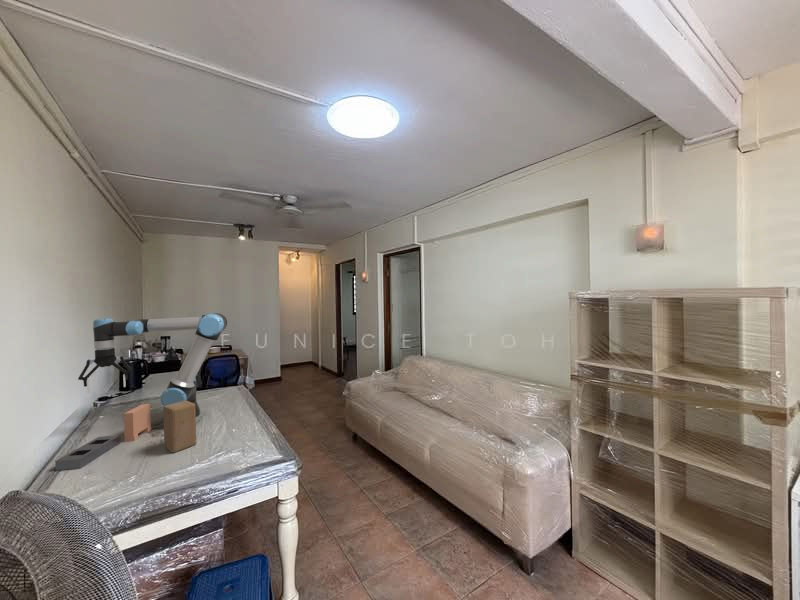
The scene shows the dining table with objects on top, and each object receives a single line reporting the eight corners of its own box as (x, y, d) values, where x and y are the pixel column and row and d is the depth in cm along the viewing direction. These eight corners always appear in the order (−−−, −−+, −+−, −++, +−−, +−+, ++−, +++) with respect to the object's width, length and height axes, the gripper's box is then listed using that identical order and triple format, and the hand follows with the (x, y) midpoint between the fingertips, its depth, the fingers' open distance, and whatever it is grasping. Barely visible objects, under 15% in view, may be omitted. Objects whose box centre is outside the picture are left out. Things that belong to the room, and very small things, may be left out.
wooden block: (173, 453, 141) (172, 409, 140) (163, 448, 146) (162, 405, 146) (197, 444, 149) (196, 403, 149) (187, 439, 155) (186, 399, 154)
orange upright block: (151, 429, 166) (150, 403, 166) (134, 441, 154) (133, 413, 153) (142, 430, 166) (141, 404, 166) (124, 441, 153) (123, 413, 153)
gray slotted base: (120, 443, 151) (119, 435, 151) (80, 468, 130) (80, 459, 130) (99, 444, 150) (98, 436, 150) (55, 470, 128) (55, 460, 128)
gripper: (136, 344, 172) (138, 382, 173) (70, 351, 156) (73, 393, 157) (136, 346, 166) (138, 385, 167) (68, 353, 150) (71, 397, 151)
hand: (107, 389), depth 162 cm, fingers open, 13 cm apart
